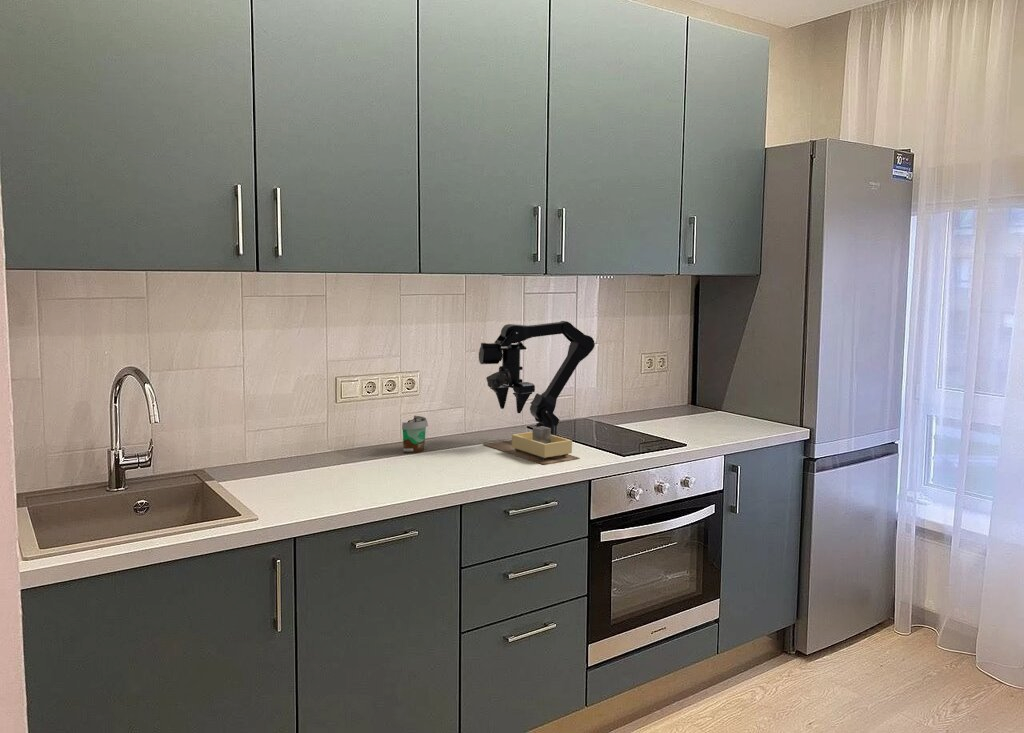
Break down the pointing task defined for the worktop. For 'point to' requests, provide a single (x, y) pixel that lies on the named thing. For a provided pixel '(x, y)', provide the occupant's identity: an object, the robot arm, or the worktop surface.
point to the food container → (414, 435)
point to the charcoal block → (542, 434)
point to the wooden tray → (541, 445)
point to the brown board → (507, 447)
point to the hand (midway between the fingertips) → (510, 410)
